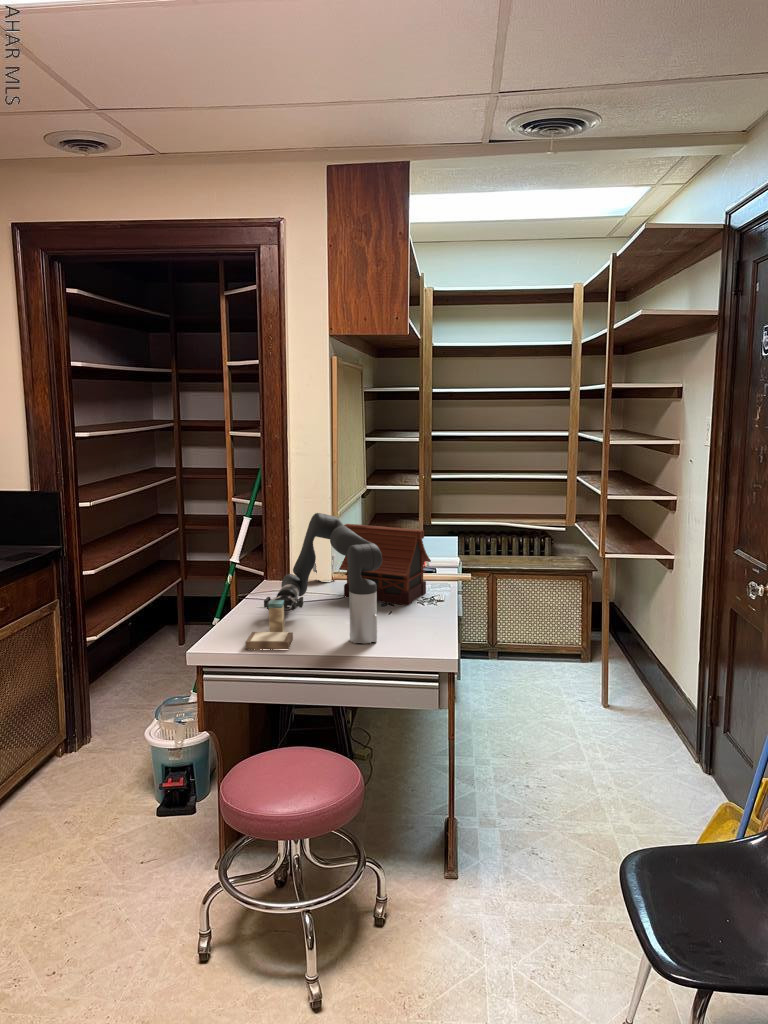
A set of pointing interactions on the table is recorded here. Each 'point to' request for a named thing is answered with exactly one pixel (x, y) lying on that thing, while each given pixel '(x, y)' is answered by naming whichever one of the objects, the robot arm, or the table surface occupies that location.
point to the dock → (269, 640)
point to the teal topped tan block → (276, 616)
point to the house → (394, 563)
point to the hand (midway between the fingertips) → (280, 607)
